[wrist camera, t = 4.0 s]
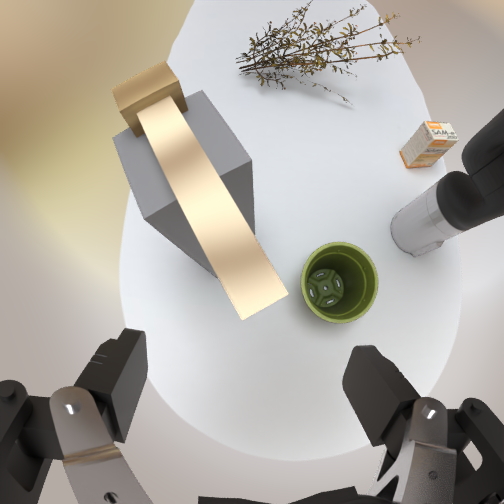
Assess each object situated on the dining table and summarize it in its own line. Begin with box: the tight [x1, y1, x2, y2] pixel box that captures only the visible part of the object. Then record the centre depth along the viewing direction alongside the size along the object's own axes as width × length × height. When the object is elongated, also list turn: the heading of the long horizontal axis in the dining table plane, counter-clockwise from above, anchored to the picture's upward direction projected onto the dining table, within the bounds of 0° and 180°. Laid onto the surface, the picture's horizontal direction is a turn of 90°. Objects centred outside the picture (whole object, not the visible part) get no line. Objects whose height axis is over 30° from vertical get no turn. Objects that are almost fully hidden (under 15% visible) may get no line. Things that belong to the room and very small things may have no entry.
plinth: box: [113, 90, 255, 278], centre depth 35 cm, size 8×8×34 cm
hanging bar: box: [112, 61, 288, 320], centre depth 16 cm, size 18×4×3 cm, turn 30°
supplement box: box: [400, 121, 459, 168], centre depth 48 cm, size 8×5×13 cm, turn 101°
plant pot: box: [301, 242, 378, 323], centre depth 44 cm, size 12×12×11 cm
